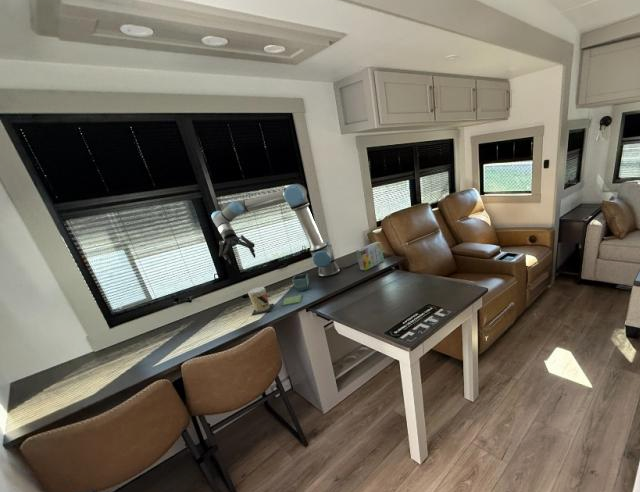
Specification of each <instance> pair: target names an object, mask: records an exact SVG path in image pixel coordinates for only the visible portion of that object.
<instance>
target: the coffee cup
mask: <svg viewBox="0 0 640 492" xmlns="http://www.w3.org/2000/svg"><path fill="white" fill-rule="evenodd" d="M266 290H267V289H266V288H265V287H264V286H257V287H253V288H251V289H249V290H248V292H247V295H248V296H249V299H250V301H251V303H252V305H253V308H254V310H256V311H257V312H261V311H265V310H267V309H268V308H269V307H270V306H269V304H270V302H269V298H268V295H267V294H268V293H267V291H266Z"/></svg>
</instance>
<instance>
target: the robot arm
mask: <svg viewBox="0 0 640 492" xmlns="http://www.w3.org/2000/svg"><path fill="white" fill-rule="evenodd" d="M307 196H308V192H307V189H306V187H305V186H304V185H302V184H301V183H293V184H290V185H287V187H283V190H279V191H275V192H272V193H268V194H263V195H261V196H260V195H259V196H256V197H252V198H248V199H244V200H241V201H236V200H233V201H232V202H230V203H229V204H228V205H227V206H226V207H225V208H224V209H223V210H216V211H213V212H212V214H210V215H211V219H212V222H213V223H214V225H215V227H216V228H217V230H218V232H219V234H220V236H221V237H222V239H223V240H220V239H219V241H218V242H219V250H218V256H219V257H223V258H224V260H225V261H228V264H229V265H230V266H232V265H233V262H232V260H231V258H230V256H229V255H228V251H229V249H230V247H234V246H238V245H239V246H243V247H244V248H247V249H249V250H248V251H249V252H250V253H251V255H252V257H253V258H254V259H255V258H256V253H255V249H254V248H255V245H256V244H255V243H254V242H253V241H252V240H250V239H248V238H246V236H244V235H243V234H241V235H240V236H238V234H237V233H236V231H235V230H234V228H233V226H232V225H231V222H232V221H234V219H236V218H237V217H239V216H241V215H243V214H247V213H250V212H251V213H252V212H254V211H259V210H261V209H267V208H269V207H274V206H277V205H281V204H285V203H287V204H288V205H289V207H290V210H291V211H293V212H294V213H295V215H296V217H297V220H298V222H299V223H300V226H301V228H302V230H303V233H304V235H305V237H306V240H307V241H308V244H309V247H310V248H309V252H310V254H311V257H312V262H313V264H314V265H315V266H316V267H318V271H317V272H318V273H317V274H318V276H319V277H321V278H328V277H333V276H335V275H338V274H339V273H340V272H341V270H340V269H348V268H350V267H353V266H355V265H359V263H358V262H355V263H353V264H351V265H348V266H341V267H339V265H338V264H337V262H336V260H335V255H334V250H333V246H332V243H331V241H323V238H322V236H321V233H320V232H319V229H318V227H317V224H316V222H315V219H314V217H313V215H312V213H311V210H310V208H309V206H310V202H309V199H308V197H307ZM224 244H225V247H224ZM223 247H224V248H223ZM390 256H392V253H390V254H387V255H385V256H383V257H384V259H385V258H388V257H390Z"/></svg>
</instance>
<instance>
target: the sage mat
mask: <svg viewBox="0 0 640 492" xmlns="http://www.w3.org/2000/svg"><path fill="white" fill-rule="evenodd" d="M302 297H303V296H302V294H299V295H294V296H290V297H285V298H284V300H283V302H282V304H281V306H282V307H285V306H289V305H295V304H300V303H301V300H302Z"/></svg>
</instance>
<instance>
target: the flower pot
mask: <svg viewBox="0 0 640 492" xmlns="http://www.w3.org/2000/svg"><path fill="white" fill-rule="evenodd" d="M291 281H292V283H293V286H294V288H295V290H297V291H298V292H304V291H308V288H309V282H310V281H309V274H308V273H303V274H297V275H294V276H293V277H292V280H291Z"/></svg>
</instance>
